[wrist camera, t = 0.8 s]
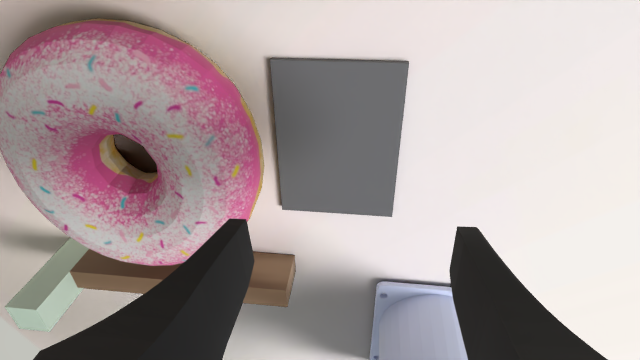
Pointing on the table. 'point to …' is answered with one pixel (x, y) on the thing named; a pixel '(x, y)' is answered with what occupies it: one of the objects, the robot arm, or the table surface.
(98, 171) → the donut
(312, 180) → the grey flat panel
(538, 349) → the robot arm
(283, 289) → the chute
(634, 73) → the table surface
